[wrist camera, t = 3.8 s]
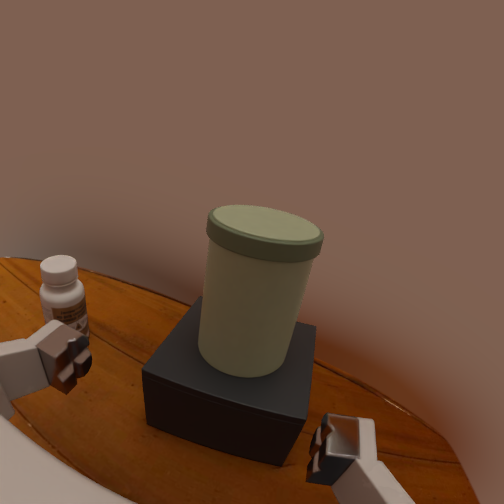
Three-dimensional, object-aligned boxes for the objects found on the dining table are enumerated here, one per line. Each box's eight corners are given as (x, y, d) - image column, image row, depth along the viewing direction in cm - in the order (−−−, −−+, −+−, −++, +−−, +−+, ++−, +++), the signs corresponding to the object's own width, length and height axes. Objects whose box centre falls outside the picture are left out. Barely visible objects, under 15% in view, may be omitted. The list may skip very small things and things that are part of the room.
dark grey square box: (298, 377, 26) (316, 326, 24) (281, 466, 17) (306, 419, 15) (195, 348, 28) (199, 295, 26) (146, 424, 19) (141, 369, 16)
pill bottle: (67, 356, 22) (53, 280, 20) (40, 335, 24) (26, 263, 21) (98, 334, 26) (91, 262, 24) (71, 316, 28) (62, 248, 25)
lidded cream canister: (307, 354, 21) (345, 234, 17) (238, 396, 16) (270, 250, 13) (244, 311, 25) (265, 201, 21) (175, 335, 20) (185, 206, 17)
